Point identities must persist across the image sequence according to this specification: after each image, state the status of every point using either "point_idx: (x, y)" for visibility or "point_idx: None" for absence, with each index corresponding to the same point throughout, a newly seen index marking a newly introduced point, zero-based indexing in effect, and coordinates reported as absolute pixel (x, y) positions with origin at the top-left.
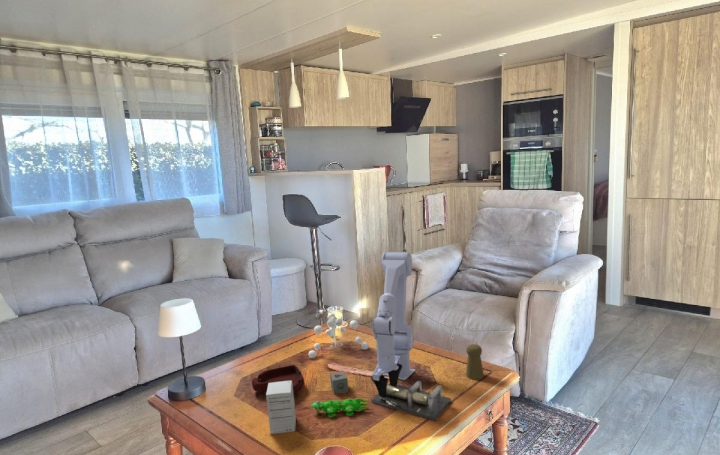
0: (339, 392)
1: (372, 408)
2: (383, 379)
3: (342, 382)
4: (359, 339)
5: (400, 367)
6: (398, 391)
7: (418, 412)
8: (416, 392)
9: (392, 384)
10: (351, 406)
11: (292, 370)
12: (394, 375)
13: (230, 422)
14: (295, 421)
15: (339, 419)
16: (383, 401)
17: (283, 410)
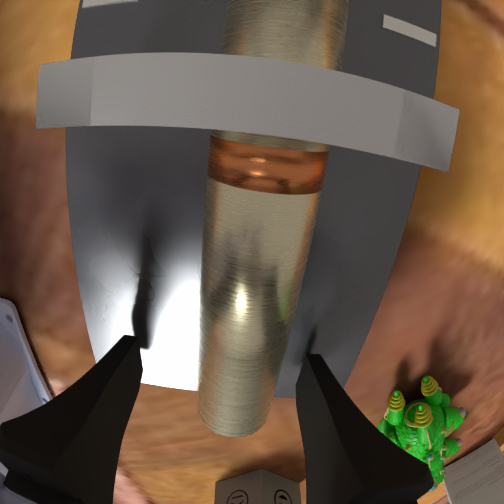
0: (286, 480)
1: (394, 357)
2: (398, 500)
3: None
4: None
5: (33, 463)
6: (291, 298)
7: (435, 29)
8: None
9: (137, 369)
10: (447, 425)
11: None
12: (106, 422)
13: (437, 500)
14: (473, 459)
15: (467, 405)
16: (349, 341)
17: None
